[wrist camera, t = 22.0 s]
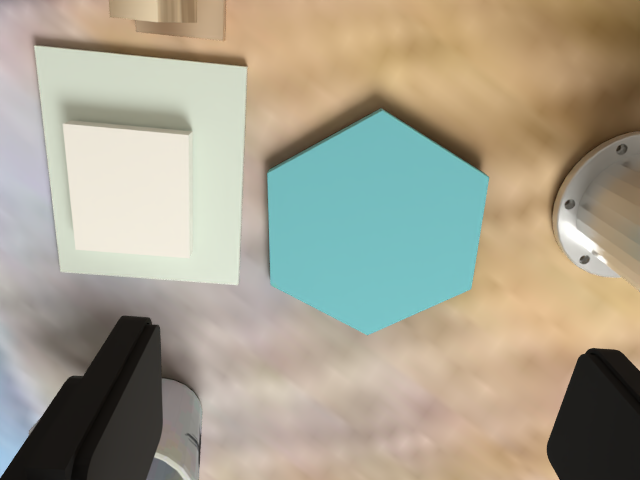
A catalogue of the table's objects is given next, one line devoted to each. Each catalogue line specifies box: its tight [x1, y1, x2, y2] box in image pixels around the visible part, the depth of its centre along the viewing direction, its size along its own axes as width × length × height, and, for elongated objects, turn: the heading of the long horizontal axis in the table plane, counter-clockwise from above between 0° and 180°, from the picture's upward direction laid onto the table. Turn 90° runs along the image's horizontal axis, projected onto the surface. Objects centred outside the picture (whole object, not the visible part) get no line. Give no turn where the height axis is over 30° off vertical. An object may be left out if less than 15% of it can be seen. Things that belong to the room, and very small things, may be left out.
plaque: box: [267, 108, 489, 335], centre depth 42 cm, size 18×2×20 cm
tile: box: [63, 120, 193, 258], centre depth 39 cm, size 2×10×9 cm
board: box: [34, 45, 248, 285], centre depth 40 cm, size 15×18×1 cm
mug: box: [29, 378, 202, 480], centre depth 44 cm, size 10×15×10 cm
